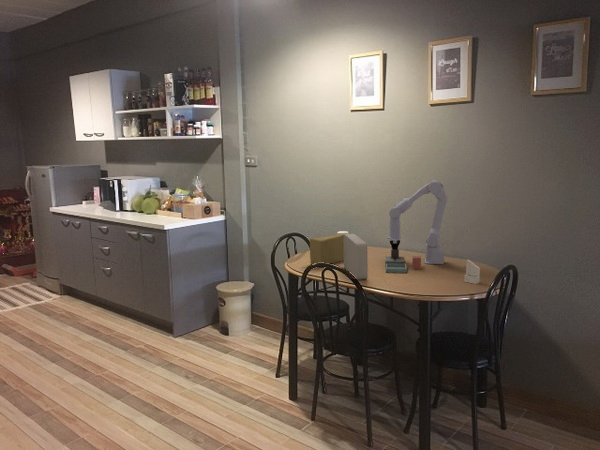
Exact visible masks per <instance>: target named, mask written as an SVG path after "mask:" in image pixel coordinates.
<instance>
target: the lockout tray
mask: <svg viewBox="0 0 600 450" xmlns="http://www.w3.org/2000/svg"><path fill="white" fill-rule="evenodd" d="M407 271H408V269H407V264H406V263H405V264H386V267H385V273H392V274H393V273H394V274H397V273H398V274H399V273H400V274H403V273H405V274H407Z"/></svg>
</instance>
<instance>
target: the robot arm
mask: <svg viewBox="0 0 600 450" xmlns="http://www.w3.org/2000/svg"><path fill="white" fill-rule="evenodd" d="M430 193H431V194H432V195H433V196H434V197H435V198H436V199H437V203H436V206H435V210H434V215H433V219H432V223H431V228H430V231H429V234H428V235H427V236H426V237H427V238H426V240H425V242H426V244H425V259H424V264H427V265H444V263H445V257H444V256H445V253H444V252H445V249H444V247H445V246H441V245H440V243H439V241H440V232H441V231H440V230H441V226H442V222H443V219H444V213H445V209H446V204H447V201H448V195H447V192H446V190H445V187H444V185H443V184H442V183H441V182H440V181H439V180H438V179H433V180H431V181H430V182H429V183H426V184H425V185H424V186H422V187H420V188H419V189H418V190H417V191H416V192H415V193H414V194H412V195H411V196H410V197H409V198H407V197H406V198H405V197H404V198H402V199H401V200H400V201H399V202H398V203H397V204H394V207H392V208H390V210H389V213H388V215H389V236H387V239H389V243H390V245H391V246H390V247H391V249H395V250H399V246H400V243H401V215H402V214H404V213H406V211H408V210H409V209H410V208H412V207H413V203H414V202H416V201H417V200H419V199H420V198H421V197H422V196H424V195H427V194H428V195H429V194H430Z"/></svg>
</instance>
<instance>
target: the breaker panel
mask: <svg viewBox="0 0 600 450" xmlns="http://www.w3.org/2000/svg"><path fill="white" fill-rule="evenodd" d="M386 264H406V261H405V256H399V258H391V256H385V261H384V265H385V268H386Z"/></svg>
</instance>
